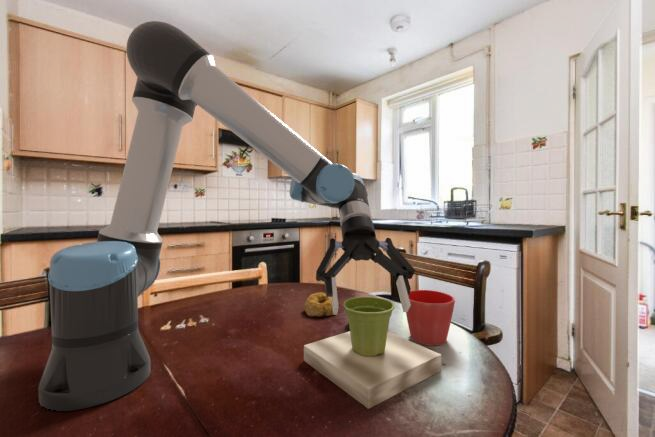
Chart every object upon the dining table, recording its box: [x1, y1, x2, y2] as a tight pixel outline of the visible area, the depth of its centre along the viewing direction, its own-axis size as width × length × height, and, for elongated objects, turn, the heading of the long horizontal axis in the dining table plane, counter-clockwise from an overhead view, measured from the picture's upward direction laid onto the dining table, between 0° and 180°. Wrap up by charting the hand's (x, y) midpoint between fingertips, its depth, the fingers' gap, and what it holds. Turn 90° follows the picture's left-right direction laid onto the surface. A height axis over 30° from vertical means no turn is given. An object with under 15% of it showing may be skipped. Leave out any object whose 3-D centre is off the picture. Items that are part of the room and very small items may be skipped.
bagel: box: [303, 292, 340, 318], centre depth 89 cm, size 10×11×5 cm
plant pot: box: [342, 296, 395, 357], centre depth 58 cm, size 9×9×9 cm
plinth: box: [303, 330, 442, 409], centre depth 58 cm, size 18×18×3 cm
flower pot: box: [405, 289, 456, 346], centre depth 70 cm, size 11×11×10 cm
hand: (371, 310), depth 58 cm, fingers open, 13 cm apart
